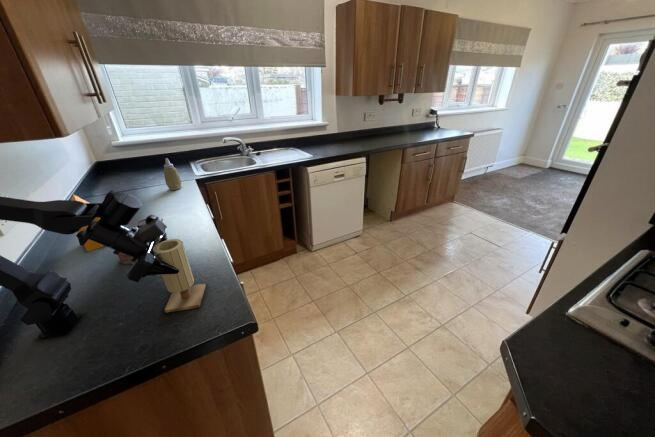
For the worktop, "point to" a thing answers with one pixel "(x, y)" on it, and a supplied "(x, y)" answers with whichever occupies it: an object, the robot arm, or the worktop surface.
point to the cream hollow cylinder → (175, 264)
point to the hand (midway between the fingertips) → (180, 264)
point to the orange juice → (89, 244)
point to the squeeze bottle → (171, 176)
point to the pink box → (125, 258)
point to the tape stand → (186, 298)
